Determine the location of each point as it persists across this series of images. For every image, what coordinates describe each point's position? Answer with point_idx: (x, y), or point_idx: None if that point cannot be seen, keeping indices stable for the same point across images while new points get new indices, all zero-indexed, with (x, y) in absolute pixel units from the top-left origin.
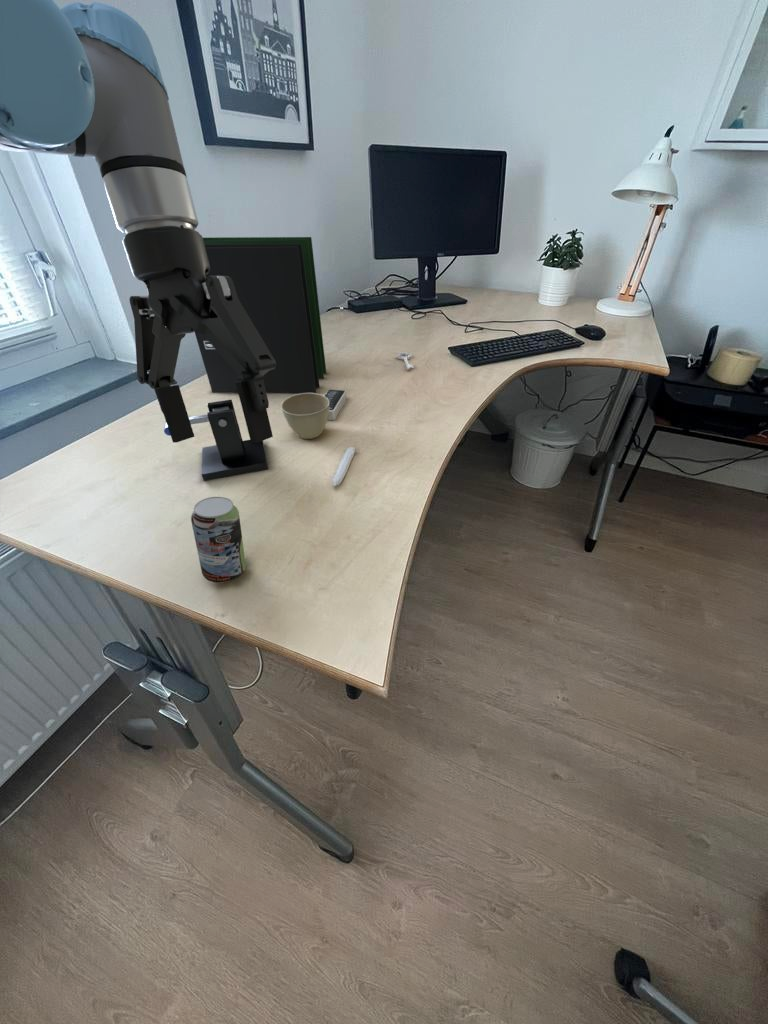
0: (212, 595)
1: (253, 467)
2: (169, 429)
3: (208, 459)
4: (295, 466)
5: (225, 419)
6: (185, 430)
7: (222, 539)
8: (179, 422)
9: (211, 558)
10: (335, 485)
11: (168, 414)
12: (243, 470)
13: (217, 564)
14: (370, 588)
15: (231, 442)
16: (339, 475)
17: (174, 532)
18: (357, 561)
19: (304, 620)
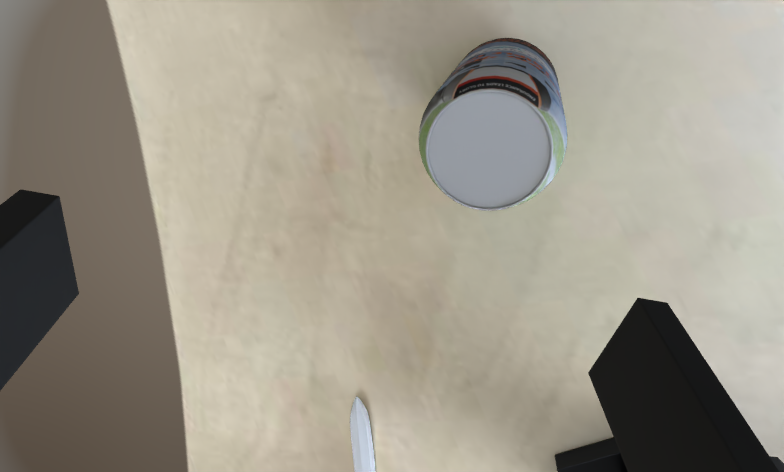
0: (504, 17)
1: (590, 454)
2: (696, 356)
3: None
4: (487, 466)
5: None
6: (620, 380)
7: (448, 78)
8: (651, 410)
9: (491, 49)
10: (355, 399)
11: (714, 434)
12: (616, 444)
13: (479, 50)
14: (182, 120)
15: None
16: (354, 429)
17: (718, 204)
18: (233, 187)
19: (269, 3)
